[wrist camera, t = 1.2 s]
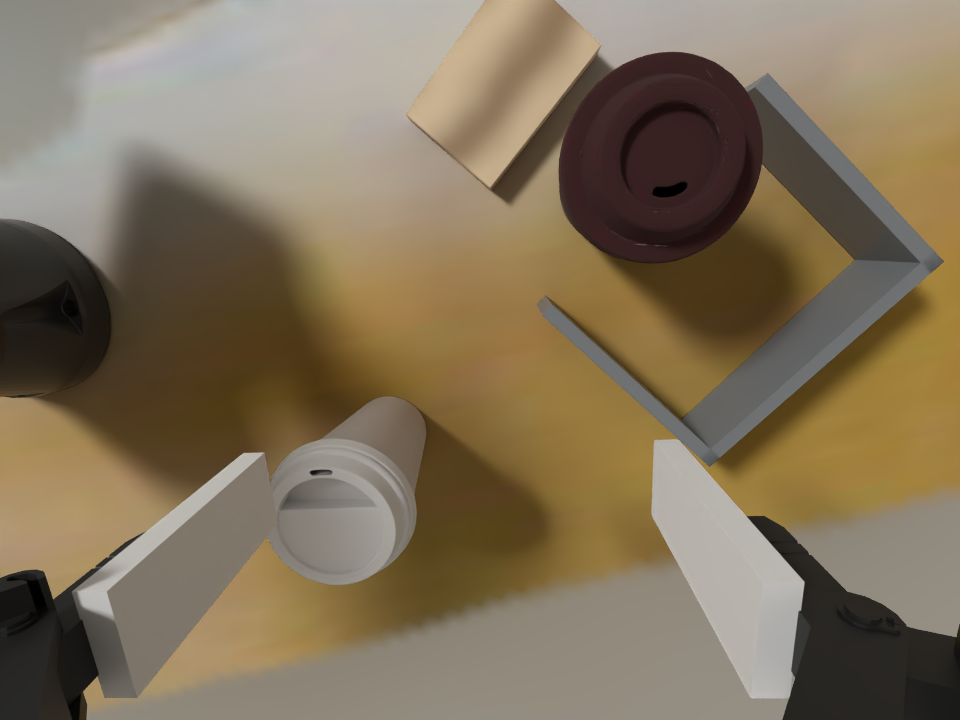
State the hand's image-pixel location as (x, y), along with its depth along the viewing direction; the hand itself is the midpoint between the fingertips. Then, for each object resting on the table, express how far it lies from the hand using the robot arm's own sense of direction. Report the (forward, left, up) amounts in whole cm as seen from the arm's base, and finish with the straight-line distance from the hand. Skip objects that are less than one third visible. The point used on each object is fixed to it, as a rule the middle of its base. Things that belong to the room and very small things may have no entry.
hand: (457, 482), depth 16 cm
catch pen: (+10, +15, -25) cm, 30 cm away
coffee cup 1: (-1, -12, -25) cm, 28 cm away
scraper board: (-12, +15, -25) cm, 32 cm away
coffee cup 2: (-1, +15, -25) cm, 29 cm away
